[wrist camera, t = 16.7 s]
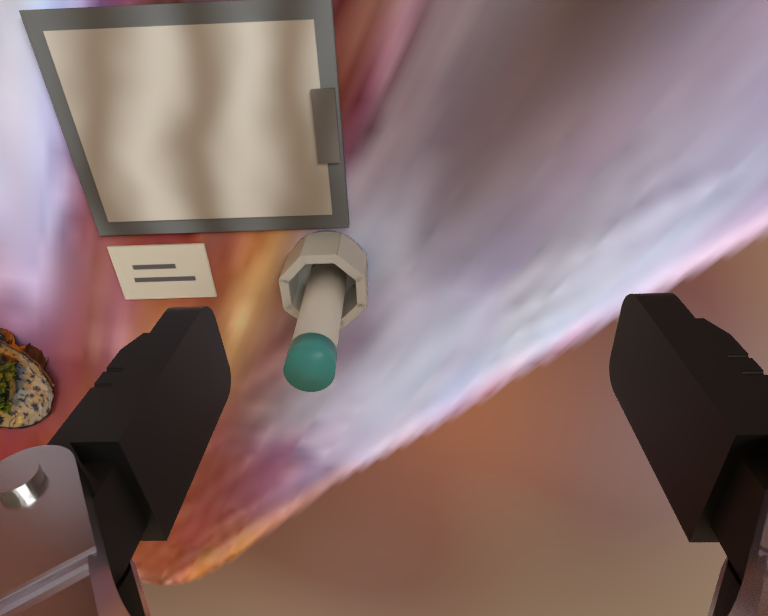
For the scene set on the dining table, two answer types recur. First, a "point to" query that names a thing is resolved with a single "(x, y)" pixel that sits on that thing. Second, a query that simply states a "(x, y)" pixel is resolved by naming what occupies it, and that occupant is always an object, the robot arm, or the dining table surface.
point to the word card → (163, 271)
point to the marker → (317, 330)
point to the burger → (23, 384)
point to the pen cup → (322, 251)
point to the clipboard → (199, 113)
